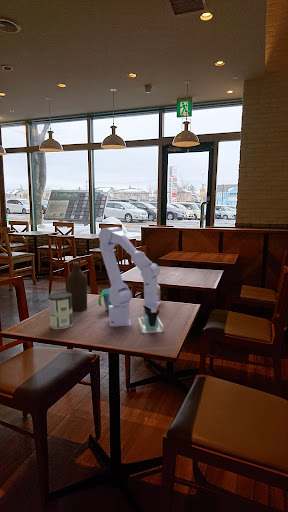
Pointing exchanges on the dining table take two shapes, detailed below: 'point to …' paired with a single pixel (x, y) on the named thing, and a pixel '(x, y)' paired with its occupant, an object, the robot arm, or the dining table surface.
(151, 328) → the teal block
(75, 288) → the olive oil
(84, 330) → the dining table surface
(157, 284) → the stack of blocks
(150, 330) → the open box
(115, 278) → the robot arm
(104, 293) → the snack cup
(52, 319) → the coffee can
